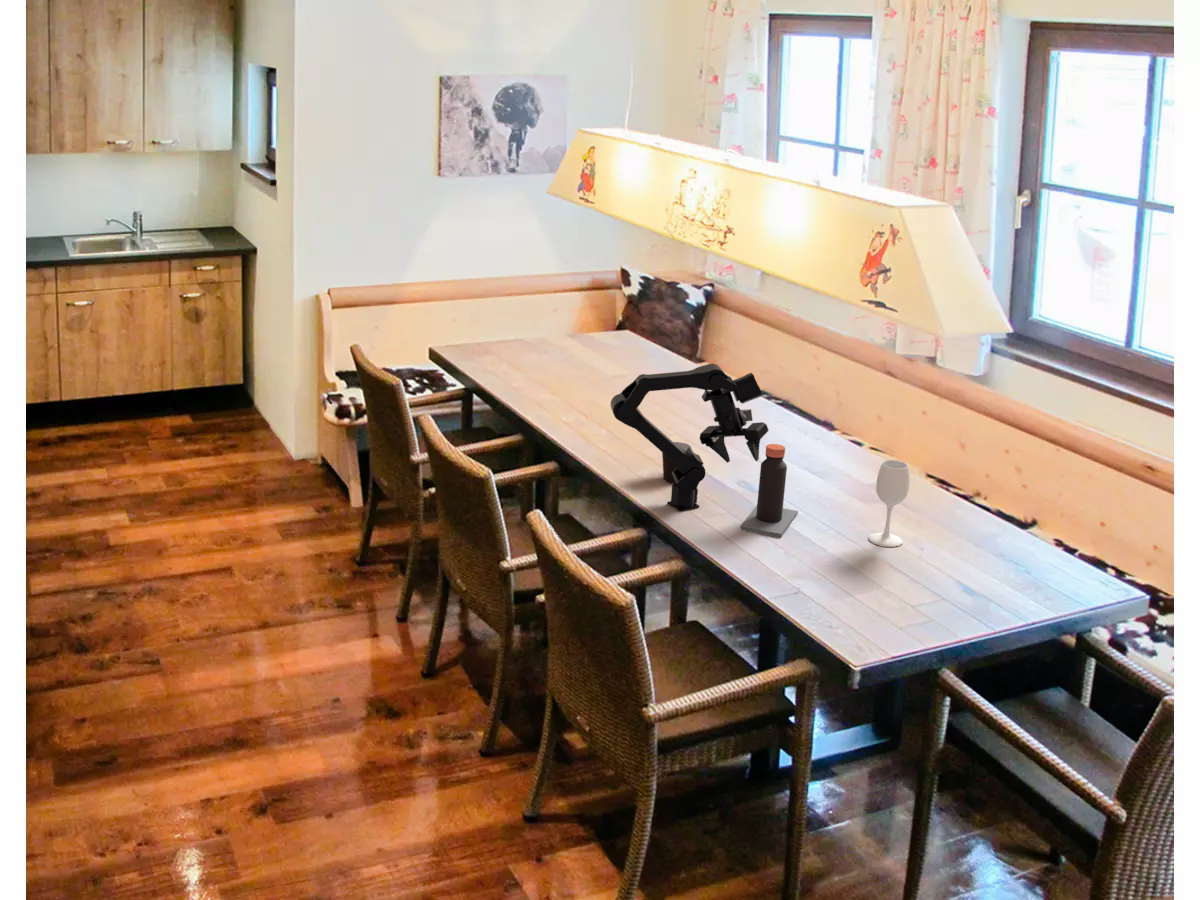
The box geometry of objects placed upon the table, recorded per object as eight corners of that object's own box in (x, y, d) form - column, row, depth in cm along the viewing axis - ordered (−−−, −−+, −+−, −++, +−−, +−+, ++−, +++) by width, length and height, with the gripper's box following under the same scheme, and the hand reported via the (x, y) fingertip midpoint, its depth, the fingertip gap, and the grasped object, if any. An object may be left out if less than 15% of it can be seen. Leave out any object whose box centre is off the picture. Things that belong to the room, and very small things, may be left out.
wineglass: (867, 544, 332) (877, 467, 325) (869, 532, 340) (878, 456, 333) (902, 549, 330) (912, 471, 323) (903, 536, 338) (913, 460, 331)
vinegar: (754, 520, 341) (760, 449, 334) (758, 512, 347) (764, 441, 341) (779, 524, 339) (787, 452, 333) (783, 515, 346) (790, 444, 339)
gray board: (739, 529, 337) (740, 526, 337) (758, 507, 353) (758, 503, 353) (781, 537, 334) (781, 534, 333) (797, 514, 350) (797, 511, 349)
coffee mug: (678, 487, 365) (681, 453, 362) (653, 479, 370) (655, 446, 367) (701, 477, 374) (703, 444, 371) (676, 469, 379) (678, 437, 376)
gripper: (768, 393, 343) (786, 445, 349) (710, 398, 355) (728, 448, 361) (749, 412, 336) (767, 465, 341) (690, 417, 348) (708, 468, 353)
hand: (742, 461), depth 349 cm, fingers open, 9 cm apart
